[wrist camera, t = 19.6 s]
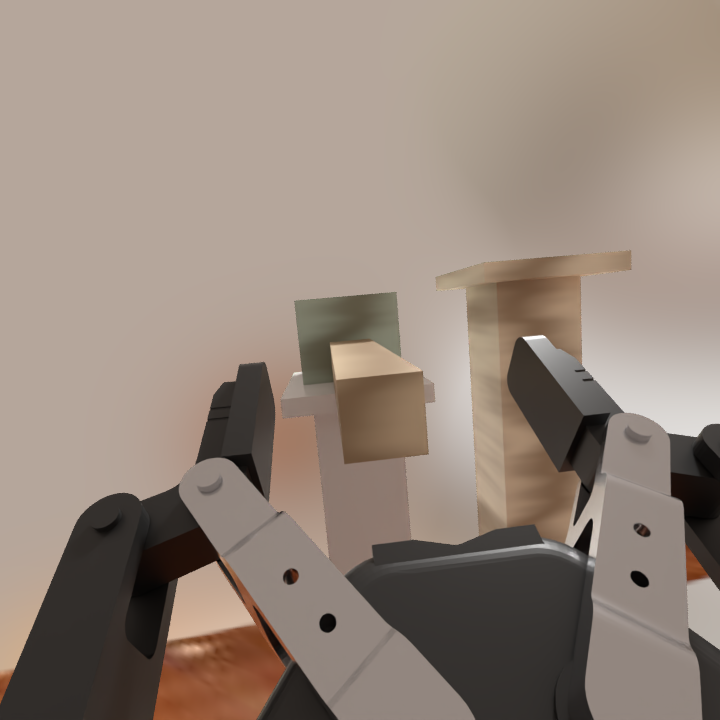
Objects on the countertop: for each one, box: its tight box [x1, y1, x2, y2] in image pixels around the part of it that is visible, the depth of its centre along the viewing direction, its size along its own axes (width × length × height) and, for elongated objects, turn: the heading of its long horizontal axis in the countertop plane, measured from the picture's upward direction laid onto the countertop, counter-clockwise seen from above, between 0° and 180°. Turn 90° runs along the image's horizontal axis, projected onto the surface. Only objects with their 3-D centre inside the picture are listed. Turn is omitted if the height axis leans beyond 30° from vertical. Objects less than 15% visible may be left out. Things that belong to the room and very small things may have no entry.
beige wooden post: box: [436, 251, 631, 544], centre depth 27 cm, size 9×10×32 cm
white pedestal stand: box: [281, 372, 435, 575], centre depth 27 cm, size 9×10×26 cm
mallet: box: [294, 292, 428, 464], centre depth 20 cm, size 6×18×5 cm, turn 5°
